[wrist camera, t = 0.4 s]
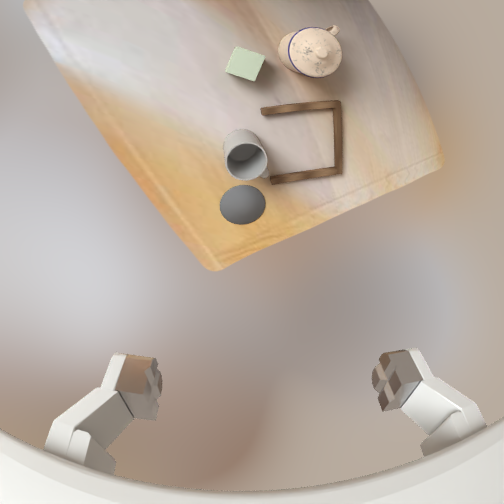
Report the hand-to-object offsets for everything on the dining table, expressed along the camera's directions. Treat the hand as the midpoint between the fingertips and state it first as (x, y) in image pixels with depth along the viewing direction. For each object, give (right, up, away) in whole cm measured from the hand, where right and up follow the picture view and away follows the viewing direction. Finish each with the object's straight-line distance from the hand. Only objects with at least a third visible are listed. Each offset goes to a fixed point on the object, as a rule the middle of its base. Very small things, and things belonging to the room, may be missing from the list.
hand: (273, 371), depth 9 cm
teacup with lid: (+9, +42, +32) cm, 54 cm away
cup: (-2, +25, +45) cm, 51 cm away
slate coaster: (-3, +15, +53) cm, 55 cm away
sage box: (-2, +38, +33) cm, 51 cm away
